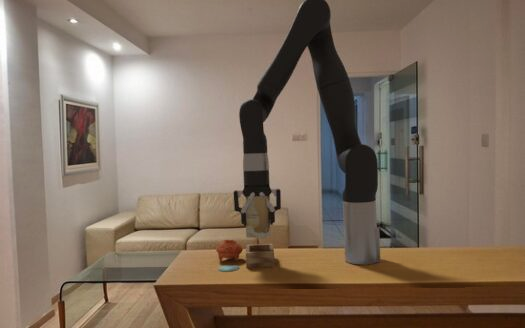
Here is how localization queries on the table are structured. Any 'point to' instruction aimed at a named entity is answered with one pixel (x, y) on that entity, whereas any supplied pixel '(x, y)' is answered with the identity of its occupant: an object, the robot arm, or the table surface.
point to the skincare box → (258, 218)
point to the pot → (229, 250)
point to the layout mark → (228, 268)
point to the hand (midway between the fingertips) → (258, 224)
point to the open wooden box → (259, 255)
